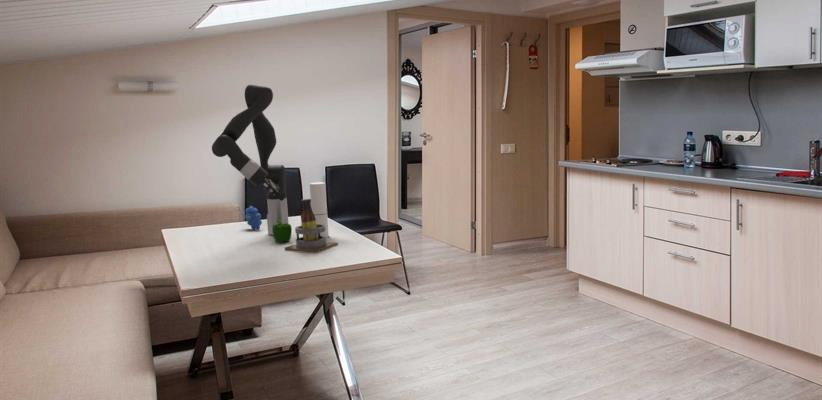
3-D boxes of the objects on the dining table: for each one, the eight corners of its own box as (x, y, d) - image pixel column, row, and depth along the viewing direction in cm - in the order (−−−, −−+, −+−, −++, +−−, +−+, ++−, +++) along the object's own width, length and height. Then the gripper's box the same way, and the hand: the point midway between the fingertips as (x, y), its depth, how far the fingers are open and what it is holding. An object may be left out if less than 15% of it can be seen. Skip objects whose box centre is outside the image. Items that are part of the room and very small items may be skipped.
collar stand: (284, 250, 269) (283, 229, 268) (308, 242, 283) (307, 222, 281) (315, 252, 261) (313, 231, 260) (337, 244, 275) (336, 224, 274)
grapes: (240, 229, 322) (238, 206, 320) (251, 227, 327) (249, 204, 326) (254, 231, 315) (252, 208, 313) (265, 229, 320) (263, 206, 318)
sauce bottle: (321, 243, 273) (317, 197, 271) (314, 246, 268) (310, 200, 265) (307, 243, 276) (303, 198, 273) (300, 246, 270) (296, 200, 267)
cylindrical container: (330, 234, 298) (326, 182, 295) (326, 237, 291) (323, 183, 288) (315, 235, 299) (311, 182, 296) (311, 238, 292) (307, 184, 289)
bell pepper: (294, 241, 286) (293, 219, 284) (277, 244, 282) (275, 222, 280) (288, 239, 293) (286, 217, 291) (271, 241, 289) (269, 219, 287)
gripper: (258, 167, 257) (289, 193, 260) (260, 164, 271) (290, 189, 274) (246, 181, 256) (277, 207, 260) (249, 177, 270) (278, 202, 274)
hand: (283, 198), depth 267 cm, fingers open, 8 cm apart
